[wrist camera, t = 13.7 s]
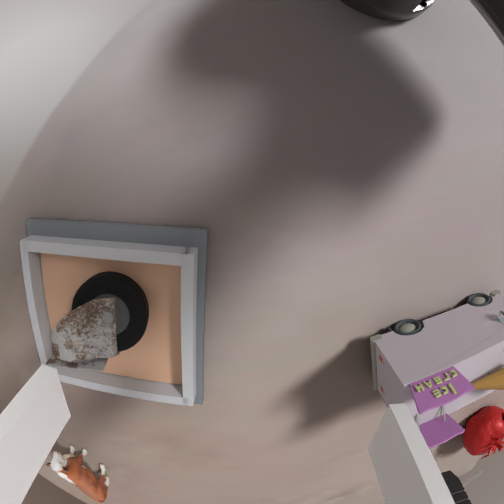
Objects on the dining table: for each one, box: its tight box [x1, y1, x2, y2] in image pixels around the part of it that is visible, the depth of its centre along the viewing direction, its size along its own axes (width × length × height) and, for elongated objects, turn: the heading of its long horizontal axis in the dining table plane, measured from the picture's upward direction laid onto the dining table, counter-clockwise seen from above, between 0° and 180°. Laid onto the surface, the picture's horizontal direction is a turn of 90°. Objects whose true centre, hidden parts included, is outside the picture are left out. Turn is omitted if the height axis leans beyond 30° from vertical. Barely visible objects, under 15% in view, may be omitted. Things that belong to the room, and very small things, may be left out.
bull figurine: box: [46, 444, 109, 503], centre depth 39 cm, size 4×13×8 cm, turn 24°
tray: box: [20, 218, 208, 406], centre depth 33 cm, size 22×22×4 cm
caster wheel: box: [45, 271, 149, 371], centre depth 31 cm, size 7×11×10 cm
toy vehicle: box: [370, 290, 504, 449], centre depth 29 cm, size 9×20×15 cm, turn 104°
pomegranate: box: [463, 406, 504, 458], centre depth 38 cm, size 10×10×9 cm
